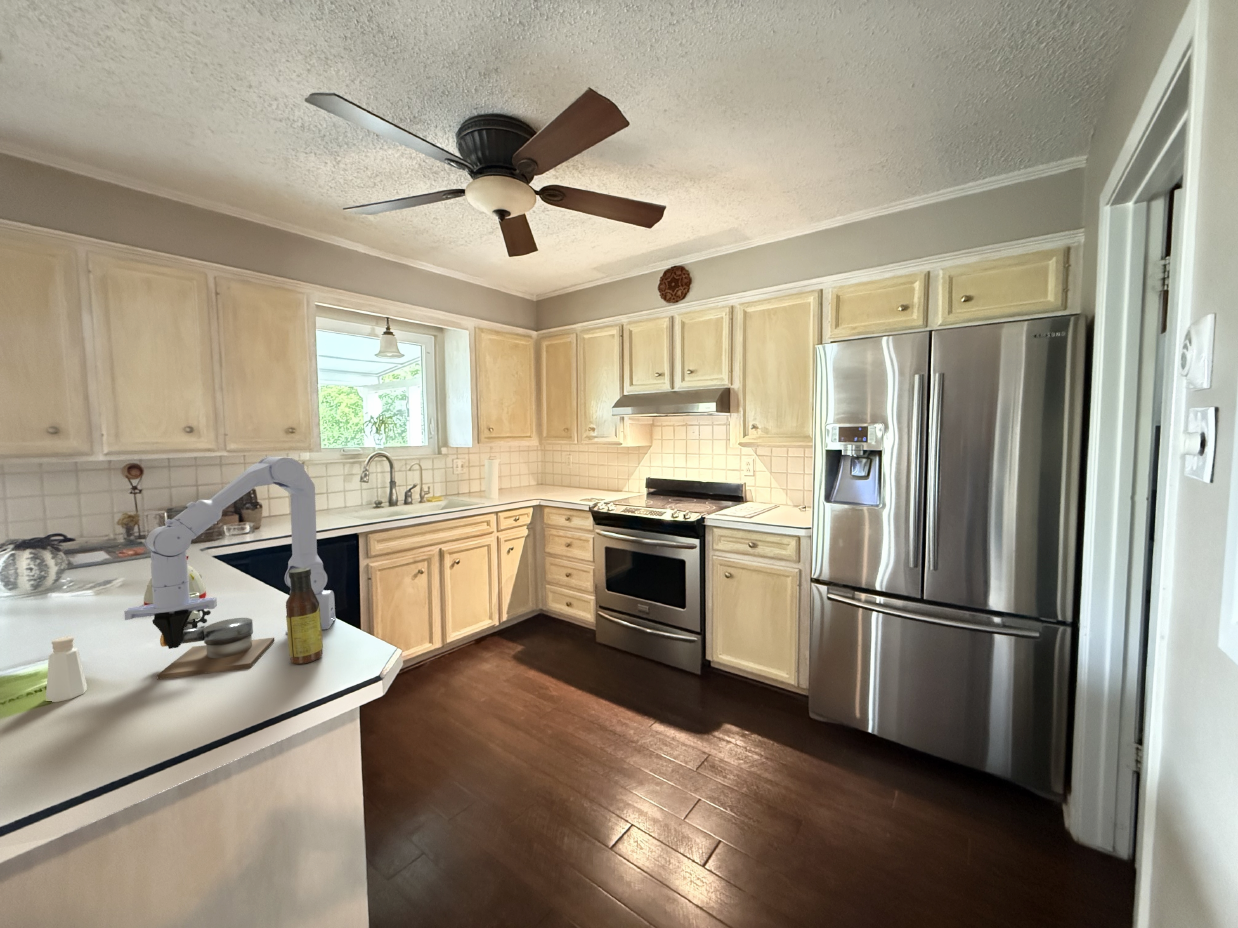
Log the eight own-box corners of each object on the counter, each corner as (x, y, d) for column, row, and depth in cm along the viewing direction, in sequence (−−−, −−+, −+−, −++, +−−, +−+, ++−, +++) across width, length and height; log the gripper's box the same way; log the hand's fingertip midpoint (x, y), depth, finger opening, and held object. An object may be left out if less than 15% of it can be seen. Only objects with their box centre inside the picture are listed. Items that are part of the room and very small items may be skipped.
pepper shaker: (49, 705, 91) (44, 646, 90) (42, 697, 94) (37, 640, 93) (91, 692, 96) (87, 636, 95) (83, 685, 99) (79, 630, 98)
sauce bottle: (329, 654, 111) (325, 566, 110) (304, 667, 105) (299, 574, 104) (308, 650, 113) (303, 564, 112) (281, 662, 107) (276, 572, 106)
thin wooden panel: (274, 641, 119) (273, 626, 118) (250, 667, 105) (249, 650, 105) (193, 650, 114) (192, 634, 114) (157, 679, 101) (156, 661, 100)
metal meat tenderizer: (257, 627, 117) (257, 615, 117) (246, 641, 109) (245, 628, 109) (172, 638, 111) (172, 625, 111) (154, 654, 103) (153, 640, 103)
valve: (175, 619, 134) (177, 632, 125) (173, 595, 134) (176, 606, 125) (207, 613, 139) (211, 624, 130) (205, 589, 138) (210, 600, 129)
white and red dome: (177, 609, 142) (174, 557, 141) (130, 609, 142) (126, 557, 141) (217, 593, 156) (215, 546, 155) (174, 593, 156) (171, 546, 155)
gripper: (219, 574, 112) (222, 633, 113) (133, 583, 105) (137, 645, 106) (209, 582, 105) (213, 645, 106) (117, 592, 99) (122, 659, 100)
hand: (174, 646), depth 106 cm, fingers closed, pressing on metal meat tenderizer
